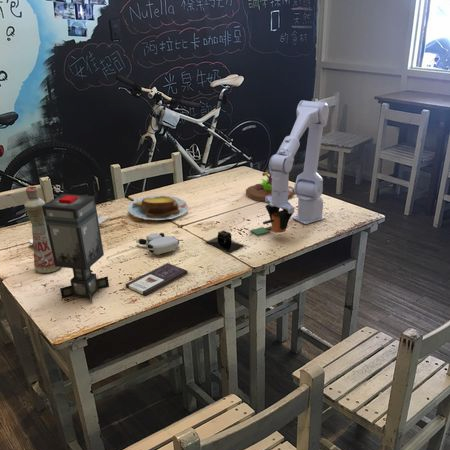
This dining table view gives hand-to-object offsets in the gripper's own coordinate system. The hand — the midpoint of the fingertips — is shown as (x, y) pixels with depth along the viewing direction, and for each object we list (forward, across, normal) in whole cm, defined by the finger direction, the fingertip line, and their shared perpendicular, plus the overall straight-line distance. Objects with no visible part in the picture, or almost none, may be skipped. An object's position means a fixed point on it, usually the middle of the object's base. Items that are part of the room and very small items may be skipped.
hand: (278, 226), depth 183 cm
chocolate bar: (+5, +4, -50) cm, 51 cm away
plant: (+5, -40, +25) cm, 48 cm away
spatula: (+5, -8, +2) cm, 10 cm away
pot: (+1, 0, -2) cm, 3 cm away
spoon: (+5, -48, -63) cm, 79 cm away
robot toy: (+5, -16, -40) cm, 44 cm away
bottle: (+5, -24, -77) cm, 81 cm away
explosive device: (+5, 0, -72) cm, 72 cm away
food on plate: (+5, -50, -25) cm, 56 cm away
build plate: (+5, -6, -19) cm, 21 cm away
